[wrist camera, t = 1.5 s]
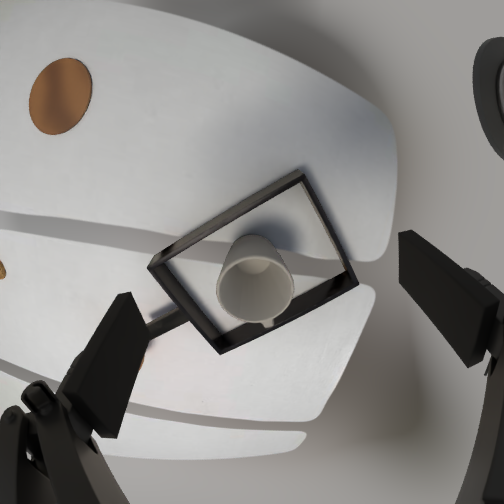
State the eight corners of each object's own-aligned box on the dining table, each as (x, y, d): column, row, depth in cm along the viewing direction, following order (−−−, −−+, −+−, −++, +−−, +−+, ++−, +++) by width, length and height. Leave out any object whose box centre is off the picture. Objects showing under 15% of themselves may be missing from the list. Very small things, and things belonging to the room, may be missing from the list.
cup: (274, 218, 35) (283, 245, 28) (294, 289, 39) (306, 329, 31) (211, 236, 36) (204, 269, 28) (238, 305, 40) (238, 347, 32)
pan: (298, 168, 33) (304, 173, 30) (350, 271, 39) (359, 284, 35) (116, 280, 38) (106, 293, 35) (182, 356, 43) (179, 372, 40)
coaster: (72, 43, 25) (70, 42, 25) (105, 98, 29) (104, 98, 28) (21, 96, 27) (19, 95, 27) (50, 150, 31) (48, 150, 30)
